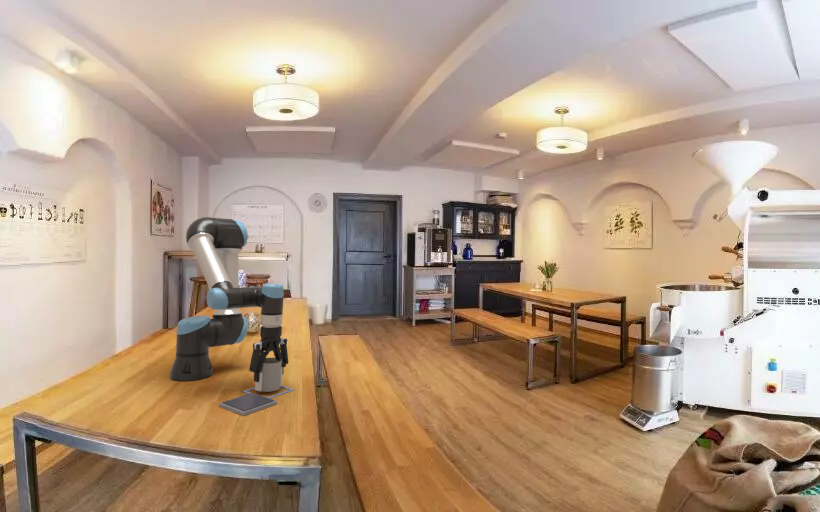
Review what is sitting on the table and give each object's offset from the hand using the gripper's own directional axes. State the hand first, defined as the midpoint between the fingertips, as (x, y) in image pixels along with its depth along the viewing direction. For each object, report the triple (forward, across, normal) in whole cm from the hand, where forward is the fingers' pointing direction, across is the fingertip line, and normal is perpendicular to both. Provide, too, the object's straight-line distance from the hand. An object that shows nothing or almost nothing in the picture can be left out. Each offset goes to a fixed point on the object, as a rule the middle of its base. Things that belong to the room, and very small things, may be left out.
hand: (268, 387), depth 149 cm
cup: (0, 0, 0) cm, 0 cm away
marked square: (+2, 0, 0) cm, 2 cm away
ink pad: (+2, -13, -6) cm, 14 cm away
